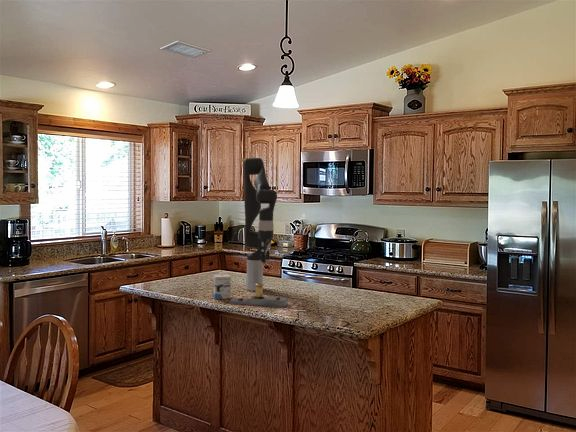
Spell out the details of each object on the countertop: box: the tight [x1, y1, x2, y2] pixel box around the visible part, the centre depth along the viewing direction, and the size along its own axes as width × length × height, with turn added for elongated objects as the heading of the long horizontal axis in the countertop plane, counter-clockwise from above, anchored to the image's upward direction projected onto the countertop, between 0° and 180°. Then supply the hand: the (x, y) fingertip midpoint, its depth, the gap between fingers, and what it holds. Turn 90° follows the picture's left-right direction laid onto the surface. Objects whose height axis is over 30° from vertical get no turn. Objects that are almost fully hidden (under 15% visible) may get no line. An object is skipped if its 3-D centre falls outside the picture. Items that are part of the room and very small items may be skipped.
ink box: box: [212, 274, 232, 300], centre depth 274 cm, size 8×5×12 cm, turn 105°
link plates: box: [229, 295, 289, 308], centre depth 261 cm, size 7×28×4 cm, turn 80°
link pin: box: [254, 283, 264, 299], centre depth 261 cm, size 4×4×10 cm
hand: (265, 261), depth 264 cm, fingers open, 8 cm apart
